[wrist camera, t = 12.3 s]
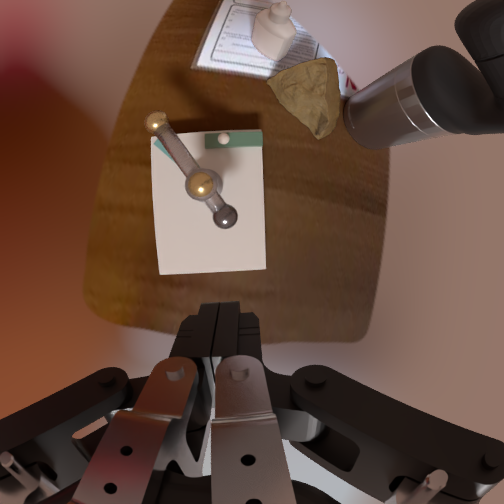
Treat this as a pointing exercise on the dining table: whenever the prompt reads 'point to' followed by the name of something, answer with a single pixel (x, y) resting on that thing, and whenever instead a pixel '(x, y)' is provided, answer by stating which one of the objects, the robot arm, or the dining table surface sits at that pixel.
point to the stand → (197, 213)
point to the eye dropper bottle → (274, 31)
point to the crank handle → (192, 171)
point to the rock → (310, 94)
